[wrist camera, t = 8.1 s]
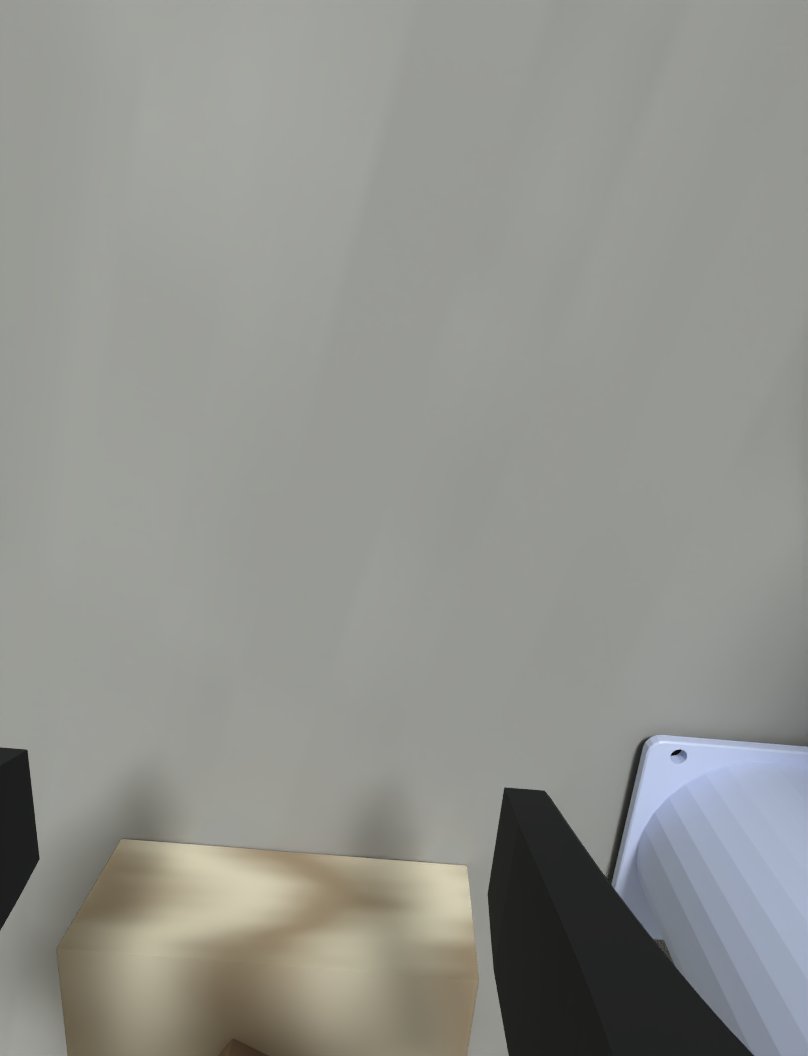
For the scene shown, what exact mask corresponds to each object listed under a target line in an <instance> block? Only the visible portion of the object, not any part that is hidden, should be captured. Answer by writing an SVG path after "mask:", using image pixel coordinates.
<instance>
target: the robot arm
mask: <svg viewBox="0 0 808 1056" xmlns="http://www.w3.org/2000/svg"><path fill="white" fill-rule="evenodd" d="M680 749H681V752H680V753H679V754H677V755H674V756H671V754H672V752H674V751H675V750H680ZM38 861H39V851H38V841H37V832H36V823H35V814H34V805H33V796H32V787H31V778H30V769H29V760H28V751H27V750H24V749H12V748H0V930H1V928H2V926H3V925H4V923H5V921H6V919H7V918H8V916H9V914H10V913H11V911H12V909H13V907H14V906H15V904H16V902H17V900H18V899H19V897H20V895H21V893H22V891H23V889H24V887H25V885H26V884H27V882H28V880H29V878H30V876H31V874H32V872H33V870H34V869H35V867H36V865H37V863H38ZM488 904H489V917H490V931H491V943H492V954H493V966H494V974H495V980H496V985H497V991H498V997H499V1003H500V1008H501V1014H502V1020H503V1025H504V1031H505V1037H506V1042H507V1048H508V1053H509V1056H808V747H805V746H793V745H780V744H768V743H756V742H743V741H731V740H718V739H706V738H693V737H681V736H669V735H656V736H653V737H651V738H649V739H648V740H647V741H646V742H645V744H644V746H643V749H642V754H641V758H640V762H639V767H638V771H637V775H636V780H635V784H634V788H633V793H632V797H631V801H630V806H629V810H628V815H627V819H626V823H625V828H624V832H623V836H622V841H621V845H620V849H619V854H618V858H617V862H616V867H615V871H614V875H613V880H612V884H610V882H609V881H608V880H607V878H606V877H605V875H604V874H603V873H602V871H601V870H600V869H599V867H598V866H597V864H596V863H595V862H594V860H593V859H592V857H591V856H590V855H589V853H588V852H587V850H586V849H585V847H584V846H583V845H582V843H581V842H580V840H579V839H578V837H577V836H576V835H575V833H574V832H573V830H572V829H571V827H570V826H569V824H568V823H567V821H566V820H565V819H564V817H563V816H562V814H561V813H560V811H559V810H558V808H557V807H556V805H555V804H554V802H553V801H552V799H551V798H550V797H549V796H548V794H547V793H546V792H545V791H541V790H529V789H516V788H504V794H503V800H502V806H501V813H500V819H499V826H498V832H497V838H496V845H495V851H494V857H493V864H492V870H491V877H490V883H489V889H488ZM653 939H657V940H664V941H665V944H666V946H667V949H668V951H669V953H670V956H671V958H672V960H673V963H674V964H673V963H672V962H671V961H670V959H669V958H668V957H667V956H666V955H665V953H664V952H663V951H662V950H661V948H660V947H659V946H658V945H657V943H656V942H655V941H654V940H653Z"/></svg>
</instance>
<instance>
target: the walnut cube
mask: <svg viewBox="0 0 808 1056" xmlns="http://www.w3.org/2000/svg"><path fill="white" fill-rule="evenodd" d="M218 1056H269V1055H266V1054H264V1053H262V1052H260V1051H258V1050H256V1049H254V1048H252V1047H250V1046H248V1045H246V1044H244V1043H242V1042H240V1041H238V1040H236V1039H232V1040H231V1041H230V1042H229V1043H228V1044H227V1046H226V1047H225V1048H224V1049H223V1050H222V1051H221V1053H220V1054H219V1055H218Z"/></svg>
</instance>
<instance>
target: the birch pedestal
mask: <svg viewBox="0 0 808 1056" xmlns="http://www.w3.org/2000/svg"><path fill="white" fill-rule="evenodd" d="M56 950H57V959H58V969H59V978H60V987H61V997H62V1006H63V1016H64V1025H65V1034H66V1044H67V1053H68V1056H218V1055H219V1054H220V1053H221V1051H222V1050H223V1049H224V1048H225V1047H226V1046H227V1044H228V1043H229V1042H230V1041H231V1040H232V1039H236V1040H238V1041H240V1042H242V1043H244V1044H246V1045H248V1046H250V1047H252V1048H254V1049H256V1050H258V1051H260V1052H262V1053H264V1054H266V1055H269V1056H467V1052H468V1046H469V1040H470V1033H471V1027H472V1021H473V1015H474V1008H475V1002H476V996H477V989H478V983H479V977H478V967H477V958H476V948H475V939H474V929H473V920H472V910H471V901H470V891H469V881H468V872H467V866H464V865H451V864H438V863H425V862H412V861H399V860H387V859H374V858H361V857H348V856H335V855H322V854H309V853H297V852H284V851H271V850H258V849H245V848H232V847H220V846H207V845H194V844H181V843H168V842H155V841H142V840H130V839H121V840H120V842H119V844H118V845H117V847H116V849H115V851H114V852H113V854H112V856H111V857H110V859H109V861H108V862H107V864H106V866H105V867H104V869H103V871H102V873H101V874H100V876H99V878H98V879H97V881H96V883H95V884H94V886H93V888H92V889H91V891H90V893H89V894H88V896H87V898H86V900H85V901H84V903H83V905H82V906H81V908H80V910H79V911H78V913H77V915H76V916H75V918H74V920H73V922H72V923H71V925H70V927H69V928H68V930H67V932H66V933H65V935H64V937H63V938H62V940H61V942H60V943H59V945H58V947H57V949H56Z"/></svg>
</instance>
